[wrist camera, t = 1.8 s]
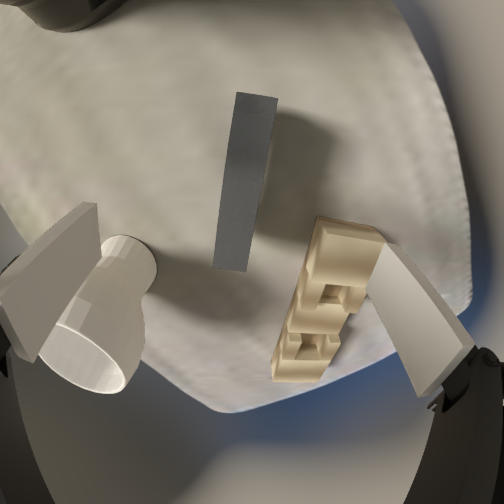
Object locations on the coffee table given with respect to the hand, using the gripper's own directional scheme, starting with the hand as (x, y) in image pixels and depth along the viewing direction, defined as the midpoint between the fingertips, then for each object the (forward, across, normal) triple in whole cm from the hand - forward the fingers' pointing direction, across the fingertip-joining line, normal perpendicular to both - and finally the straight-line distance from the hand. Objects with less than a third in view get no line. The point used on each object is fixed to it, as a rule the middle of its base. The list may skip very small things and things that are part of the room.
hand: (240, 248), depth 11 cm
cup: (+16, -12, -13) cm, 24 cm away
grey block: (+16, 0, 0) cm, 16 cm away
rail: (+16, +12, -16) cm, 25 cm away
